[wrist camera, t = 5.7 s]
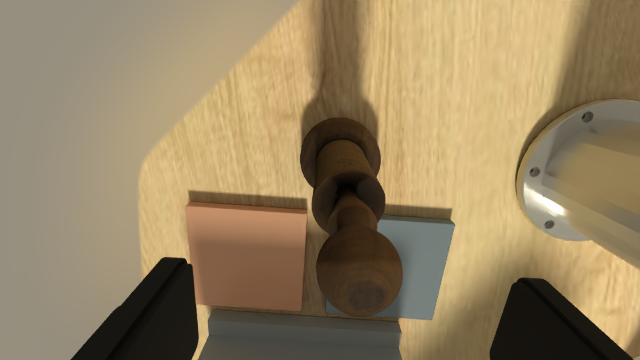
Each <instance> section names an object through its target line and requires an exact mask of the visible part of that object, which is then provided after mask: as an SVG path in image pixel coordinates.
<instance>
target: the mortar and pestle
mask: <svg viewBox="0 0 640 360" xmlns="http://www.w3.org/2000/svg"><path fill="white" fill-rule="evenodd" d="M300 164H301V169H302V172H303V175H304V177H305V179H306V180H307V182H308V183H309V184H310V185H311V186H312V187H313V188H314V189H313V197H312V212H313V216H314V218H315V220H316V222H317V223H318V225H319V226H320V227H321V228H322V229H323V230H324V231H326V232H327V233H329V235H330V237H329V238H328V239H327V240H326V242H325V243H324V244H323V246H322V248H321V250H320V252H319V254H318V259H317V265H316V273H317V280H318V284H319V286H320V289H321V291H322V293H323V295H324V296H325V298H326V299H327V300H328V301H329V303H330V304H331V305H332V306H333V307H335V308H336V309H337V310H339V311H341V312H343V313H345V314H347V315H351V316H357V317H366V316H371V315H374V314H377V313H379V312H381V311H383V310H385V309H386V308H387V307H388V306H390V305H391V304H392V302H393V301H394V300H395V298H396V297H397V295H398V293H399V291H400V289H401V285H402V280H403V269H402V263H401V259H400V256H399V254H398V252H397V250H396V248H395V247H394V245H393V244H392V243H391V241H390V240H389V239H388V238H386V237H385V236H384V235H383V234H381V233H380V232H378V231H377V227H378V224H377V223H378V222H379V221H380V219H381V217H382V215H383V213H384V209H385V193H384V191H383V189H382V187H381V185H380V183H379V181H378V179H377V178H376V177H377V175H378V172H379V169H380V164H381V155H380V150H379V147H378V144H377V142H376V141H375V139H374V138H373V136H372V135H371V133H370V132H369V131H368V130H367V129H366V128H365V127H364V126H362V125H361V124H359V123H358V122H356V121H353V120H351V119H347V118H331V119H328V120H325V121H323V122H321V123H319V124H317V125H316V126H315V127H313V128H312V129H311V131H310V132H309V133H308V134H307V136H306V138H305V140H304V142H303V145H302V149H301V154H300Z"/></svg>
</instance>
